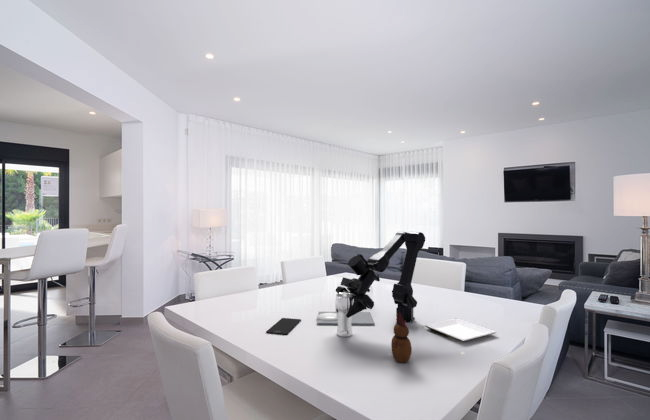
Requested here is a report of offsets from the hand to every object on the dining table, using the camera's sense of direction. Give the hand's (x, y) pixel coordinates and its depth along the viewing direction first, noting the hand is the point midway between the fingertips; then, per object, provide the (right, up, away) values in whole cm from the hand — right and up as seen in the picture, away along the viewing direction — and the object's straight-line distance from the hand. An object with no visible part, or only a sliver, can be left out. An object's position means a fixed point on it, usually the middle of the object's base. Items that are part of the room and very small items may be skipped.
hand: (341, 314), depth 123 cm
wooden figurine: (+18, -7, -22) cm, 29 cm away
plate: (+46, -8, +2) cm, 47 cm away
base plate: (+2, -8, +19) cm, 20 cm away
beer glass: (+1, -8, +1) cm, 8 cm away
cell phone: (-23, -8, +9) cm, 26 cm away
